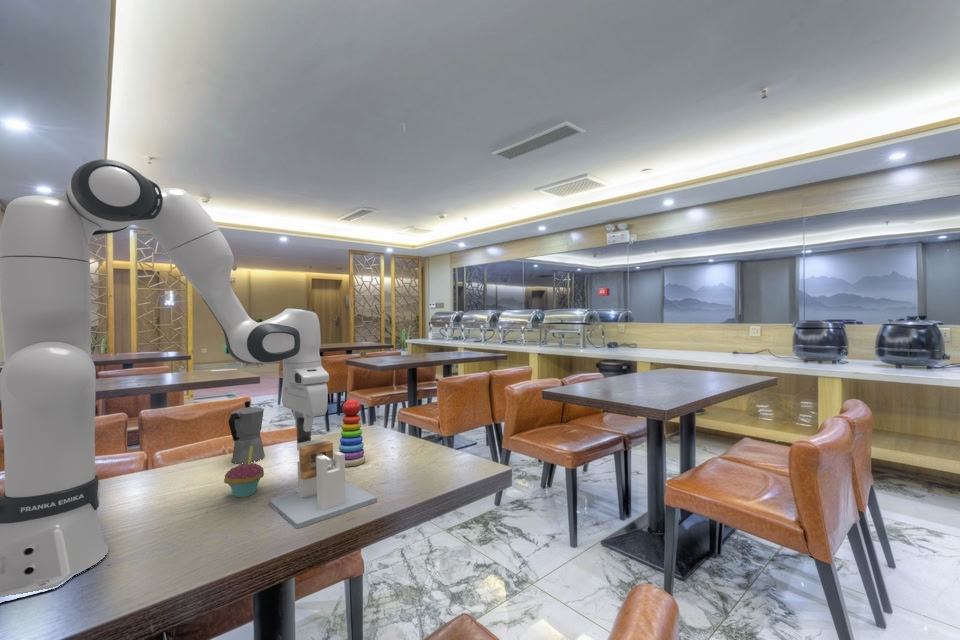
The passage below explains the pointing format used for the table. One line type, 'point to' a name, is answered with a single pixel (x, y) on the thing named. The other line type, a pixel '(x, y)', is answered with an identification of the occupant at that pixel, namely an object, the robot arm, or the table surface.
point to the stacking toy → (352, 435)
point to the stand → (321, 493)
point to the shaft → (306, 436)
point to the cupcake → (244, 477)
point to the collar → (305, 458)
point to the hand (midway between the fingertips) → (303, 429)
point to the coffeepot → (246, 433)
